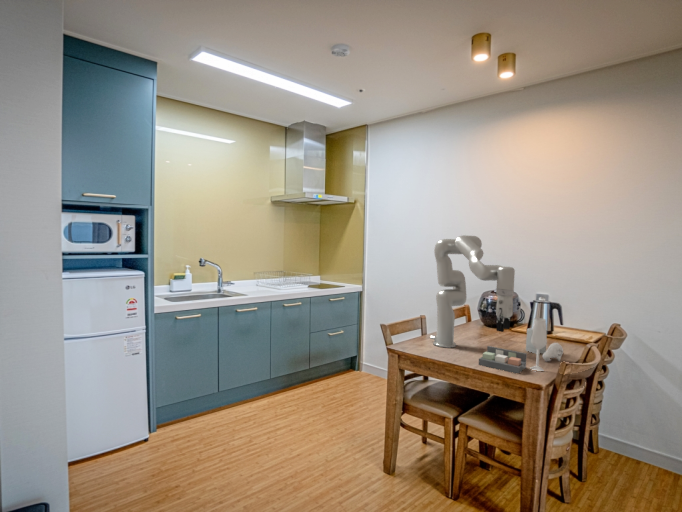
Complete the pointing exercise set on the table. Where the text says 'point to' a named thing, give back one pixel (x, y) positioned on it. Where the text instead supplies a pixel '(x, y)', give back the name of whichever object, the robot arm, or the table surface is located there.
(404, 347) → the table surface
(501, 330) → the robot arm
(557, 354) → the white animal figurine
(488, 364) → the keypad
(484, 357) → the sage key
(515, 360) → the terracotta key
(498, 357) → the off-white key
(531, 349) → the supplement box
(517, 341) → the table surface
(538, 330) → the champagne flute
